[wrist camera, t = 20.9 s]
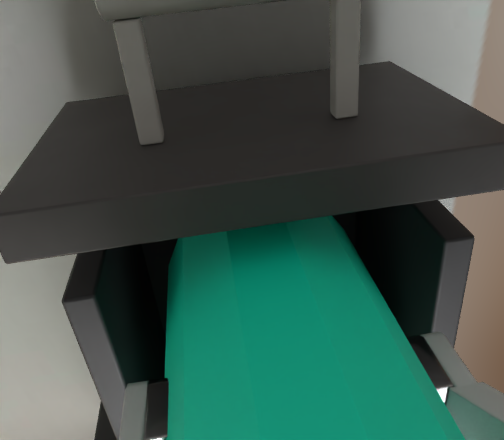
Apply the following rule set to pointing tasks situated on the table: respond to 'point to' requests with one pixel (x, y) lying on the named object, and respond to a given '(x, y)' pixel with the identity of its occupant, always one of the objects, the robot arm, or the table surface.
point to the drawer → (246, 185)
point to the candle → (289, 343)
